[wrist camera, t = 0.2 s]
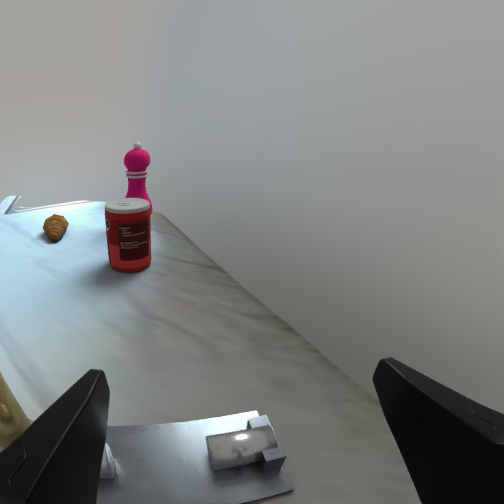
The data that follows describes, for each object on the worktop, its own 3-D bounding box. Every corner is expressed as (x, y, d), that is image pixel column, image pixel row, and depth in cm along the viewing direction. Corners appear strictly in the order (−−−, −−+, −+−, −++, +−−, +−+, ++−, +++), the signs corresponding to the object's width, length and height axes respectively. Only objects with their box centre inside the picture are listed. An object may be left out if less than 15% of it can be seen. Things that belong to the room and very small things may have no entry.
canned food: (125, 251, 55) (122, 195, 51) (159, 259, 53) (158, 200, 49) (100, 267, 48) (95, 206, 44) (136, 277, 46) (132, 211, 42)
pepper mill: (124, 223, 70) (124, 141, 62) (152, 222, 72) (154, 140, 64) (121, 233, 63) (119, 143, 55) (152, 232, 65) (153, 142, 57)
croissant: (46, 227, 63) (44, 208, 62) (70, 223, 67) (68, 205, 65) (41, 246, 53) (38, 224, 51) (69, 242, 57) (66, 220, 55)
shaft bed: (256, 411, 26) (260, 390, 24) (293, 490, 18) (302, 475, 16) (58, 426, 19) (45, 405, 18) (55, 511, 12) (37, 497, 10)
